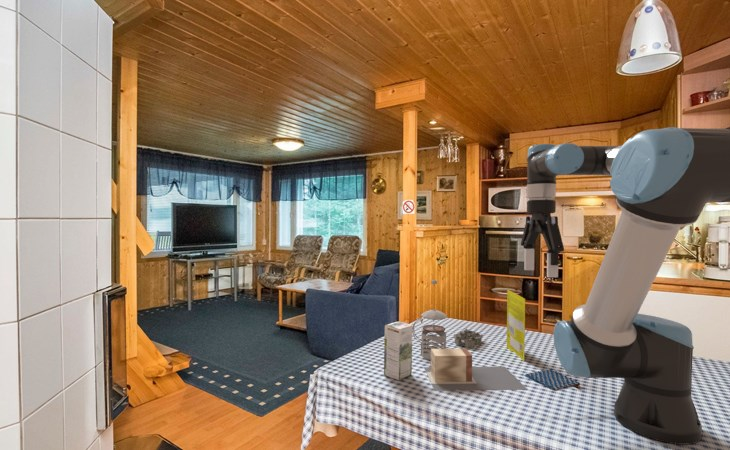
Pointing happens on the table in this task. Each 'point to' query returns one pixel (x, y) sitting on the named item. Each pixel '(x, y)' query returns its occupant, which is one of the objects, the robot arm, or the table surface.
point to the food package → (516, 323)
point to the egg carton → (468, 338)
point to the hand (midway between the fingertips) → (540, 273)
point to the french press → (432, 328)
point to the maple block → (451, 365)
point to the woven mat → (552, 379)
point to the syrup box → (398, 350)
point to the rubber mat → (481, 380)
